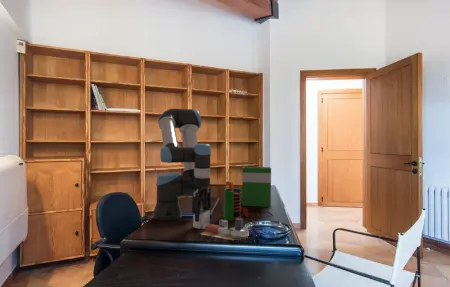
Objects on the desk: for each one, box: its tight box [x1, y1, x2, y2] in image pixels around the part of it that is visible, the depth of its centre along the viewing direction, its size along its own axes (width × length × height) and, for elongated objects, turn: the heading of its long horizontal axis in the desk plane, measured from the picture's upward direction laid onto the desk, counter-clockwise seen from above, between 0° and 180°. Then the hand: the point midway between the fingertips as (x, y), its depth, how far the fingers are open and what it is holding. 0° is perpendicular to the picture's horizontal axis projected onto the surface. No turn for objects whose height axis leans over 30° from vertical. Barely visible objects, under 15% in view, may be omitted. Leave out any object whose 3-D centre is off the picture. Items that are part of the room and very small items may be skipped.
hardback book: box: [241, 166, 272, 208], centre depth 189 cm, size 18×7×24 cm, turn 85°
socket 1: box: [192, 208, 211, 230], centre depth 139 cm, size 6×6×8 cm
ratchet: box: [204, 217, 250, 240], centre depth 128 cm, size 20×8×7 cm, turn 63°
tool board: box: [200, 231, 238, 241], centre depth 128 cm, size 24×13×1 cm, turn 63°
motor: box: [223, 180, 242, 221], centre depth 154 cm, size 10×9×20 cm
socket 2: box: [218, 219, 229, 228], centre depth 134 cm, size 4×4×4 cm
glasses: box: [240, 205, 274, 218], centre depth 167 cm, size 14×16×5 cm
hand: (201, 226), depth 139 cm, fingers closed on socket 1, 6 cm apart
